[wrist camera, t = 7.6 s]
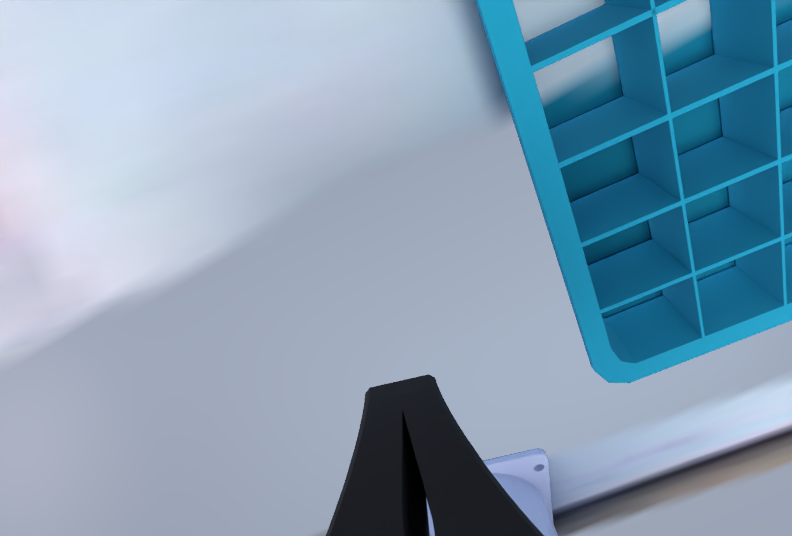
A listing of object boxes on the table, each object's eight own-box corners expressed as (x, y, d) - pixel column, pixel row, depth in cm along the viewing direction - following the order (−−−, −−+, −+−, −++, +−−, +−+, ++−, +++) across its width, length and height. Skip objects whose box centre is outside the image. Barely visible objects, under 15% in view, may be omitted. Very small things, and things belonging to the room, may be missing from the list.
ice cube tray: (846, -456, 12) (988, -572, 9) (832, 242, 22) (899, 278, 19) (388, -200, 13) (402, -241, 11) (571, 346, 23) (602, 393, 21)
